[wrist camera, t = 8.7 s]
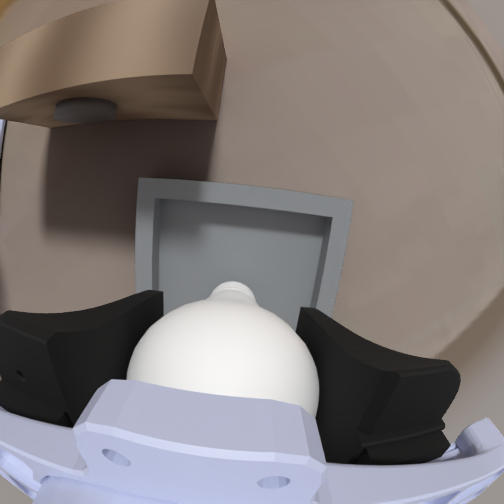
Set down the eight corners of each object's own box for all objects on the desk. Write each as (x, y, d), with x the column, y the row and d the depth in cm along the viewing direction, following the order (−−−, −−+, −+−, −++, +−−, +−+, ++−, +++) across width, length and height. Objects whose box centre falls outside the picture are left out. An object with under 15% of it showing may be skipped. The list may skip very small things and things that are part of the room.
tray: (149, 345, 17) (140, 359, 15) (150, 177, 15) (138, 177, 13) (309, 362, 18) (313, 378, 16) (342, 198, 15) (353, 200, 13)
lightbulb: (305, 309, 16) (370, 467, 5) (221, 356, 17) (201, 515, 6) (248, 222, 15) (251, 324, 4) (160, 281, 15) (56, 416, 5)
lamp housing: (49, 136, 14) (-24, 127, 7) (62, 72, 12) (0, 44, 6) (215, 130, 14) (188, 90, 7) (227, 55, 13) (213, -16, 6)
